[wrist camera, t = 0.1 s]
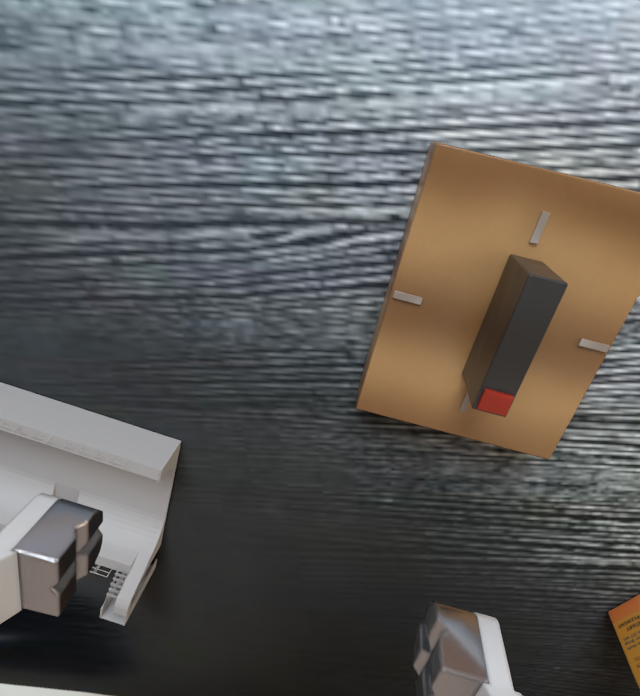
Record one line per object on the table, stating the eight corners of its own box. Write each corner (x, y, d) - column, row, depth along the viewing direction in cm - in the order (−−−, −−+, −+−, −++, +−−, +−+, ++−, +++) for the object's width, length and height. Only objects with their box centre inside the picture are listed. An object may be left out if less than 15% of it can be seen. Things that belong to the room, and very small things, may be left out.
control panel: (431, 140, 23) (436, 142, 20) (654, 195, 23) (691, 205, 20) (358, 383, 29) (355, 410, 26) (534, 429, 29) (550, 462, 26)
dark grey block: (509, 253, 22) (531, 275, 19) (544, 261, 22) (571, 285, 19) (461, 373, 25) (472, 412, 21) (491, 381, 25) (507, 421, 21)
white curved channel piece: (181, 440, 33) (147, 491, 28) (156, 567, 39) (124, 626, 34) (-26, 373, 33) (-93, 413, 28) (-20, 510, 39) (-76, 561, 34)
